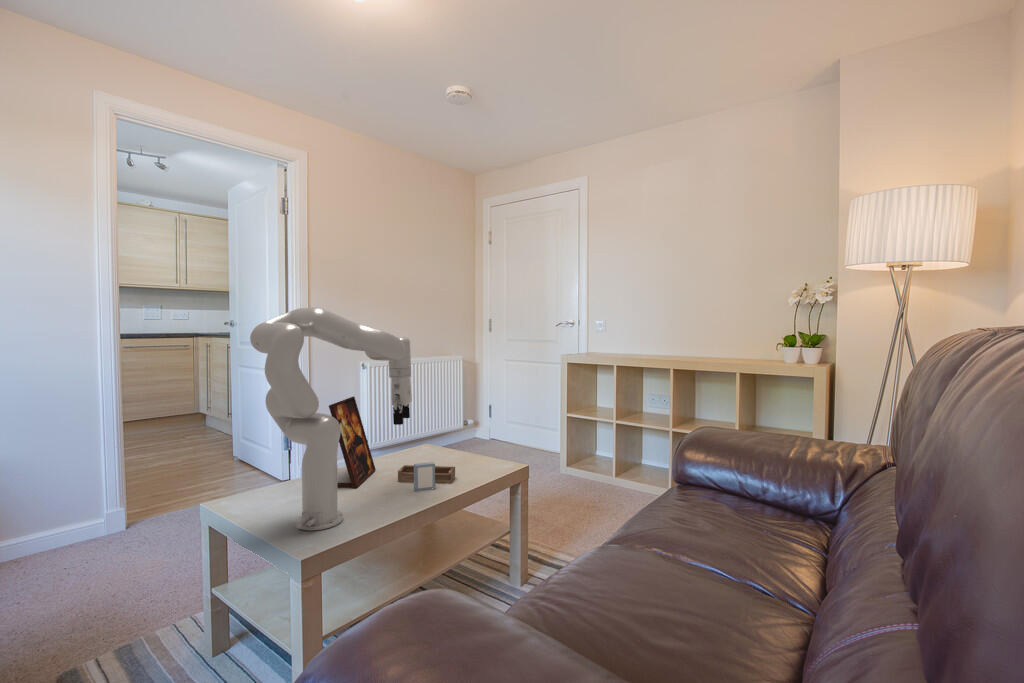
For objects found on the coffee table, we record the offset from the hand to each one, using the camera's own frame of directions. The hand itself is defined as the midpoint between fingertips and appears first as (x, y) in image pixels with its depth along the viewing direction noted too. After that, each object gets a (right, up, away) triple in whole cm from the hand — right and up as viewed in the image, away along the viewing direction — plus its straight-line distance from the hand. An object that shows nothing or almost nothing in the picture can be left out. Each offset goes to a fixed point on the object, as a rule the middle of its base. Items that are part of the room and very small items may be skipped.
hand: (401, 421), depth 162 cm
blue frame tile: (+8, -24, +1) cm, 26 cm away
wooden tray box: (+7, -24, +11) cm, 27 cm away
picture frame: (-21, -24, +12) cm, 35 cm away
